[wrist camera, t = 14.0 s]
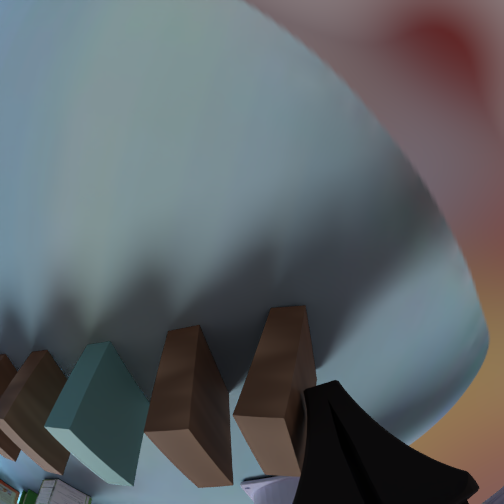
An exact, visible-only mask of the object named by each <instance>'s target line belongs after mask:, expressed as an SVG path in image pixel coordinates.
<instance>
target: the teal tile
mask: <svg viewBox="0 0 504 504" xmlns="http://www.w3.org/2000/svg"><path fill="white" fill-rule="evenodd" d="M149 405H150V403H149V401H148V400H147V399H146V397H145V396H144V394H143V393H142V391H141V390H140V388H139V387H138V385H137V384H136V382H135V381H134V379H133V378H132V376H131V375H130V373H129V372H128V370H127V368H126V367H125V365H124V364H123V362H122V360H121V359H120V357H119V355H118V354H117V352H116V350H115V349H114V347H113V345H112V343H111V342H110V341H108V342H101V343H95V344H88V345H87V346H86V348H85V350H84V351H83V353H82V355H81V357H80V358H79V360H78V362H77V364H76V365H75V367H74V369H73V371H72V373H71V374H70V376H69V378H68V380H67V382H66V384H65V385H64V387H63V389H62V391H61V393H60V395H59V397H58V399H57V401H56V403H55V405H54V407H53V409H52V411H51V413H50V415H49V417H48V419H47V421H46V423H45V425H44V427H45V428H46V429H47V430H48V431H49V432H50V433H51V435H52V436H53V437H54V438H55V439H56V440H57V441H58V442H60V443H61V444H62V445H63V446H64V447H65V448H66V449H67V450H68V451H69V452H70V453H71V454H72V455H73V456H75V457H76V458H77V459H78V460H79V461H80V462H81V463H83V464H84V465H85V466H86V467H87V468H89V469H90V470H91V471H92V472H93V473H95V474H96V475H97V476H98V477H100V478H101V479H102V480H104V481H105V482H106V483H108V484H114V485H124V486H134V480H135V475H136V469H137V464H138V458H139V453H140V448H141V443H142V438H143V433H144V428H145V423H146V419H147V414H148V410H149Z"/></svg>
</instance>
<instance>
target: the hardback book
mask: <svg viewBox="0 0 504 504" xmlns="http://www.w3.org/2000/svg"><path fill="white" fill-rule="evenodd" d="M37 496H38V494H36V493H35V492H33V491H31V490H30V489H28V492H26V491H24V490H23V492H22V495H21V498H20V501H19V504H35V502H36V499H37Z"/></svg>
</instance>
